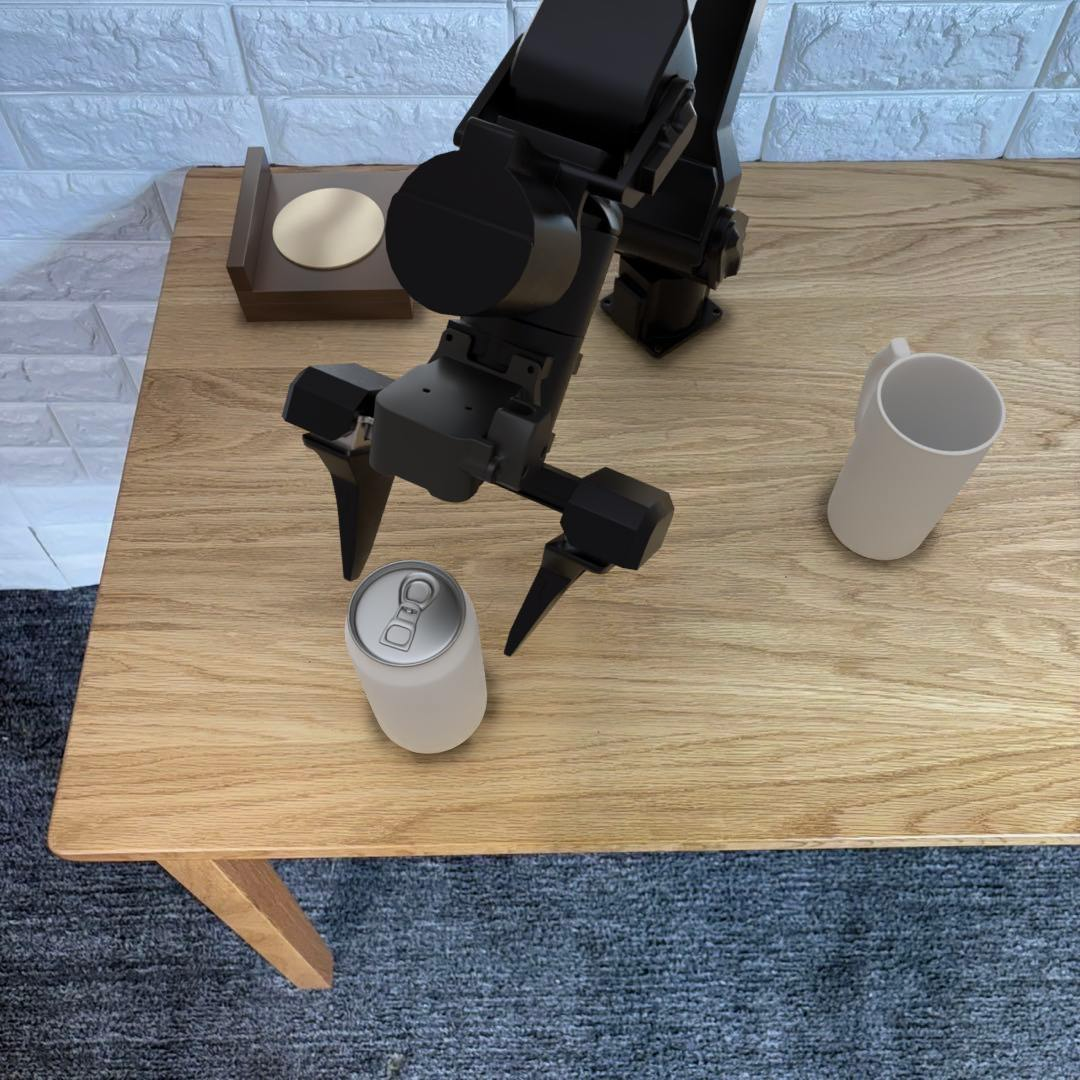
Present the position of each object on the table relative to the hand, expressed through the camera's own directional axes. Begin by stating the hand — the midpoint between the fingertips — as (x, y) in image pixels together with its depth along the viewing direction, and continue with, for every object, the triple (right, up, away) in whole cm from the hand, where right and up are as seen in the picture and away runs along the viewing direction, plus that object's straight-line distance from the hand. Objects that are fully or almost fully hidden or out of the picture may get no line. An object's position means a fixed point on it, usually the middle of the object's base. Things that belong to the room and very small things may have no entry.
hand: (428, 615), depth 50 cm
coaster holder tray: (-10, +25, +24) cm, 36 cm away
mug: (+27, +7, +14) cm, 31 cm away
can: (-1, -6, +7) cm, 9 cm away
